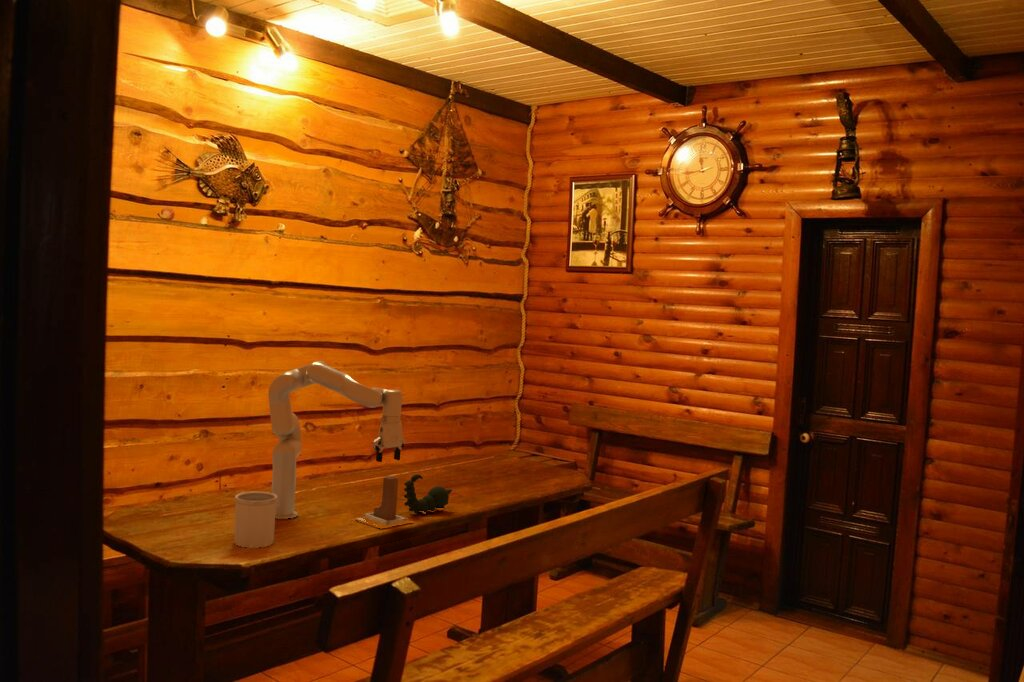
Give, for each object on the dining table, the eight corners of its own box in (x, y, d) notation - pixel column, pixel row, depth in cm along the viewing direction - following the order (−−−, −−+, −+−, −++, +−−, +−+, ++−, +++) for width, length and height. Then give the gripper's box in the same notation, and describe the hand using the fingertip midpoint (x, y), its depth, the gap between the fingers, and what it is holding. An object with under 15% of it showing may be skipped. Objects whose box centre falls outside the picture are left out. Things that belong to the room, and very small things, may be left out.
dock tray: (380, 529, 341) (380, 523, 341) (355, 520, 351) (355, 514, 351) (413, 523, 354) (414, 517, 354) (388, 514, 365) (389, 509, 365)
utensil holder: (257, 551, 302) (260, 502, 301) (223, 544, 307) (226, 496, 306) (282, 541, 315) (285, 495, 315) (250, 535, 321) (252, 489, 320)
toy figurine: (413, 522, 362) (458, 510, 379) (412, 478, 361) (458, 468, 377) (400, 517, 369) (445, 505, 386) (399, 474, 367) (445, 464, 384)
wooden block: (373, 518, 354) (375, 475, 353) (381, 516, 358) (383, 474, 357) (387, 522, 348) (390, 479, 348) (395, 521, 352) (398, 478, 351)
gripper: (380, 422, 342) (377, 464, 343) (412, 420, 355) (409, 460, 356) (369, 419, 347) (365, 460, 348) (400, 417, 360) (397, 457, 361)
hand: (387, 460), depth 352 cm, fingers open, 9 cm apart
